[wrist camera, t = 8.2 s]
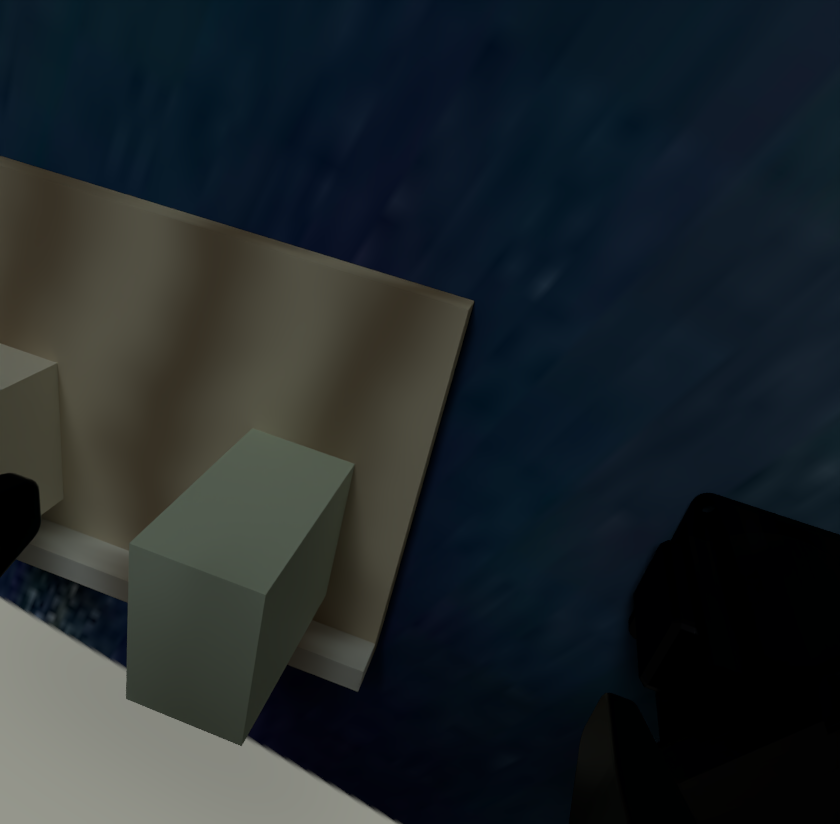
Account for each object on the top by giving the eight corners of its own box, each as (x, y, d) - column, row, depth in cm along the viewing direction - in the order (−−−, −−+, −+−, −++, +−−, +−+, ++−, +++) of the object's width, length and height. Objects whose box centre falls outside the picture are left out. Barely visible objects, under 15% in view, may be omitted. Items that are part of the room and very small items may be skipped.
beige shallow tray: (474, 301, 20) (459, 324, 18) (376, 648, 28) (357, 695, 26) (-43, 142, 23) (-112, 147, 20) (-3, 505, 30) (-50, 537, 28)
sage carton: (354, 463, 23) (265, 595, 17) (325, 597, 26) (241, 749, 20) (252, 427, 23) (128, 543, 17) (235, 563, 27) (126, 701, 20)
